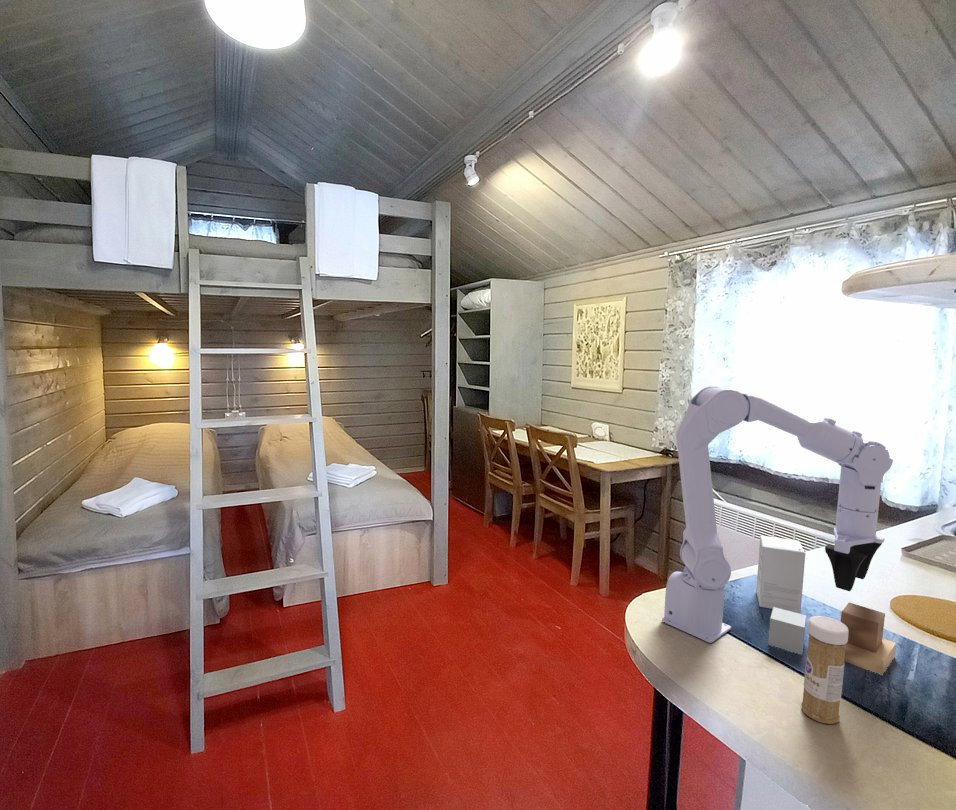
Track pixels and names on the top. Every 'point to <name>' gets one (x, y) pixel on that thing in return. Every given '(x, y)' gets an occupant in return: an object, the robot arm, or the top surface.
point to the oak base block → (871, 656)
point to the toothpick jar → (824, 669)
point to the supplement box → (780, 573)
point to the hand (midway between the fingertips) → (850, 582)
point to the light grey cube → (787, 630)
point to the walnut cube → (863, 626)
